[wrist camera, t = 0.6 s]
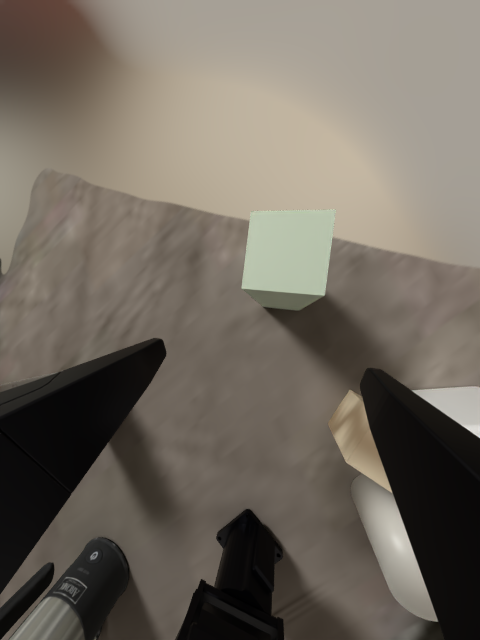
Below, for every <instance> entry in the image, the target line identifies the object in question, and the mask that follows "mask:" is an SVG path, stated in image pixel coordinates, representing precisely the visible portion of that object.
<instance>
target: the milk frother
mask: <svg viewBox="0 0 480 640" xmlns="http://www.w3.org/2000/svg"><path fill="white" fill-rule="evenodd" d="M128 574H129V573H128V566H127V564H126V560H125V558H124V556H123V554H122V552H121V551H120V549H119V548H118V547H117V546H116V545H115V544H114V543H113V542H111V541H110V540H108V539H105V538H95V539H93V540H91V541H90V542H89V543H88V544H87V545H86V546H85V548H84V550H83V551H82V553H81V554H80V555H79V557H78V558H77V559H76V560H75V561H74V563H73V564H72V565H71V566H70V567H69V568H68V569H67V570H66V572H65V573H64V574H63V575H62V576H61V578H60V579H59V580H58V581H57V582H56V584H55V585H54V586H53V587H52V588H51V590H50V591H49V592H48V593H47V595H46V596H45V597H44V598H43V599H42V600H41V602H40V603H39V604H38V605H37V606H36V607H35V609H34V610H33V611H32V612H31V614H30V615H29V616H28V617H27V618H26V619H25V620H24V622H23V623H22V624H21V625H20V626H19V628H18V629H17V630H16V631H15V633H14V634H13V635H12V636H11V637H10V638H9V640H97V639H98V637H99V635H100V632H101V629H102V624H103V622H104V621H105V619H106V617H107V616H108V614H109V613H110V611H111V609H112V608H113V606H114V604H115V603H116V601H117V599H118V598H119V596H121V595H122V593H123V592H124V591H125V589H126V587H127V583H128V578H129V575H128ZM53 575H54V563H47V564H46V565H44V566H43V567H42V568H41V569H40V570H39V571H38V572H37V573H36V574H35V575H34V576H33V577H32V578H31V579H30V580H29V581H27V582H26V583H25V584H24V585H23V586H22V587H21V588H20V589H19V590H18V591H17V592H16V593H15V594H14V595H13V596H12V597H11V598H10V599H9V600H8V601H7V602H6V603H5V604H4V605H3V606H2V607H1V608H0V640H1V639H2V637H3V636H4V635H5V634H6V633H7V632H8V631H9V630H10V628H11V627H12V626H13V625H14V624H15V623H16V622H17V620H18V619H19V618H20V617H21V616H22V615H23V614H24V613H25V612H26V611H27V610H28V608H29V607H30V606H31V605H32V604H33V603H34V602H35V601H36V600H37V598H38V597H39V596H40V595H41V594H42V593H43V592H44V591H45V589H46V588H47V587H48V586H49V585H50V583H51V582H52V579H53Z"/></svg>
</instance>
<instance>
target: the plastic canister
mask: <svg viewBox="0 0 480 640" xmlns="http://www.w3.org/2000/svg"><path fill="white" fill-rule="evenodd" d="M351 496H352V499H353V501H354V504H355V506H356V509H357V511H358V514H359V516H360V519H361V521H362V523H363V526H364V528H365V531H366V533H367V536H368V538H369V541H370V543H371V545H372V548H373V550H374V553H375V555H376V558H377V560H378V563H379V565H380V568H381V570H382V572H383V575H384V577H385V580H386V582H387V585H388V587H389V589H390V591H391V593H392V595H393V596H394V598H395V599H396V600H397V601H398V602H399V603H400V604H401V605H402V606H403V607H404V608H405V609H406V610H408V611H409V612H411V613H412V614H414V615H416V616H418V617H420V618H423V619H426V620H429V621H435V622H438V620H437V617H436V614H435V611H434V608H433V605H432V603H431V600H430V597H429V594H428V591H427V589H426V586H425V583H424V580H423V577H422V575H421V572H420V569H419V566H418V563H417V560H416V558H415V555H414V552H413V549H412V546H411V544H410V541H409V538H408V535H407V532H406V530H405V527H404V524H403V521H402V518H401V515H400V513H399V510H398V507H397V504H396V501H395V499H394V496H393V493H391V492H390V491H388V490H387V489H385V488H384V487H382V486H381V485H379V484H378V483H376V482H375V481H373V480H372V479H370V478H369V477H367V476H366V475H364V474H361V475H359V476H357V477H356V478H355V479H354V480H353V482H352V484H351Z"/></svg>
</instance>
